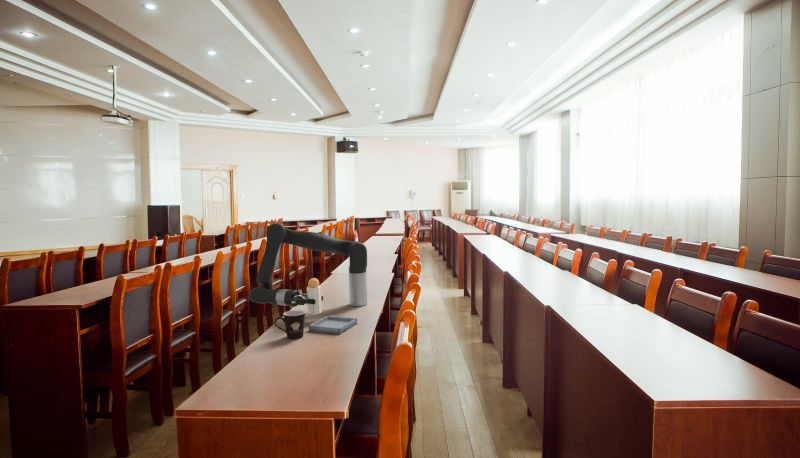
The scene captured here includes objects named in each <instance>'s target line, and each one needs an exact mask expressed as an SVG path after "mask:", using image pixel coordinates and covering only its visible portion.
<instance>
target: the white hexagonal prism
mask: <svg viewBox="0 0 800 458" xmlns="http://www.w3.org/2000/svg"><path fill="white" fill-rule="evenodd" d="M306 294H307V300H308V299H315V301H316V303H315V304H307V313H308V314H309V315H318V314H319V315H320V314H322V312H323V308H322V307H323V306H322V303H323V302H322V301H323V300H322V301H321V296H322V286H321V285H319V286H318V287H316V288H310V287H309V286H307V287H306Z"/></svg>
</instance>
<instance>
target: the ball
mask: <svg viewBox="0 0 800 458" xmlns="http://www.w3.org/2000/svg"><path fill="white" fill-rule="evenodd" d="M307 285H308V286H309V287H310V288H316V287H318V286H320V280H318V278H315V277H312V278H310V279H309V280H308V281H307ZM308 286H307V287H308Z"/></svg>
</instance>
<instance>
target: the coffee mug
mask: <svg viewBox="0 0 800 458" xmlns="http://www.w3.org/2000/svg"><path fill="white" fill-rule="evenodd" d="M305 318H306V312H305V311H304V310H298V309H297V310H295V309H294V310H289V311H284V312H283V317H277V318H275V319H274V325H275V327H276V328H278V330H281V331H283V332H285V333H286V338H287V339H288V340H300V339H302V338H303V337H304V329H305ZM278 320H282V321H283V323H284V324H285V325H284V326H285V329H284V328H282V327H280V326H279V325H277V321H278Z"/></svg>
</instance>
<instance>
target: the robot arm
mask: <svg viewBox="0 0 800 458" xmlns="http://www.w3.org/2000/svg"><path fill="white" fill-rule="evenodd" d="M265 232H266V233H265V236H266V243H265V248H264V252H263V255H262V258H261V262H260V265H259V267H258V270H257V271H258V272H257V275H256V282H257V283H259V287H254V288H252V289H251V290H250V291H249V293H248V299H249V301H251V302H253V303H255V304H256V303H257V304H271V305H280V306H286V307H297V306H305V305H308V304H315V303H316V301H315V299H308V300H307V293H301V292H300V291H299V290H298V289H277V288H275V289H272V280H273V275H274V272H275V268H276V263H277V257H278V253H279V250H280V247H281V245H282V244H284V245H292V246H296V247H298V248H302V249H305V250H309V251H313V252H314V251H315V252H319V253H327V254H328V253H331V254H332V253H335V254H340V255H344V256H348V257H349V265H348V285H349V286H348V288H349V289H348V291H349V292H348V293H349V305H350V306H351V307H363V306H366V305H368V283H367V282H368V279H367V267H368V250H367V247H366V245H365V244H364V243H362V242H360V241H357V240H356V241H353V240H346V239H339V238H336V237H334V236H331V235H327V234H323V233H319V232H315V231H307V230H306V231H302V230H301V231H299V230H293V229H289V228H287V227H284V225H282V224H281V223H278V222H275V223H272V224H270V225H269V226H268V227H267V228H266V231H265ZM321 301H324V295H321Z"/></svg>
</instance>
